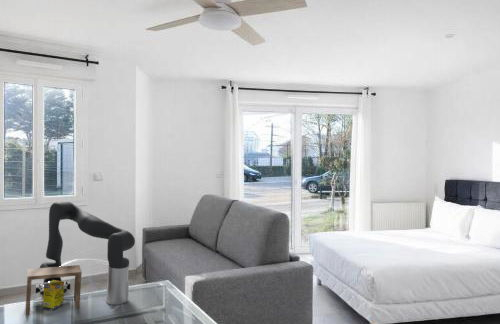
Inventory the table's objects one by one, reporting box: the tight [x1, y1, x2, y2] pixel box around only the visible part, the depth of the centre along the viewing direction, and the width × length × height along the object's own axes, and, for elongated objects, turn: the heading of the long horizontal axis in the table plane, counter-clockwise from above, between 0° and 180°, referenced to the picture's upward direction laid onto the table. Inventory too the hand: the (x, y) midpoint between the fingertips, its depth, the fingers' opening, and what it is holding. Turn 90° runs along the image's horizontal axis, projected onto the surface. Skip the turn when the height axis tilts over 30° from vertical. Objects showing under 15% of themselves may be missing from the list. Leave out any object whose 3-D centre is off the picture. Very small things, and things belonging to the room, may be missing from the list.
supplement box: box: [42, 280, 65, 311], centre depth 170 cm, size 6×6×11 cm
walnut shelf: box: [25, 264, 82, 316], centre depth 170 cm, size 21×10×16 cm, turn 120°
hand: (53, 292), depth 170 cm, fingers closed on supplement box, 8 cm apart
